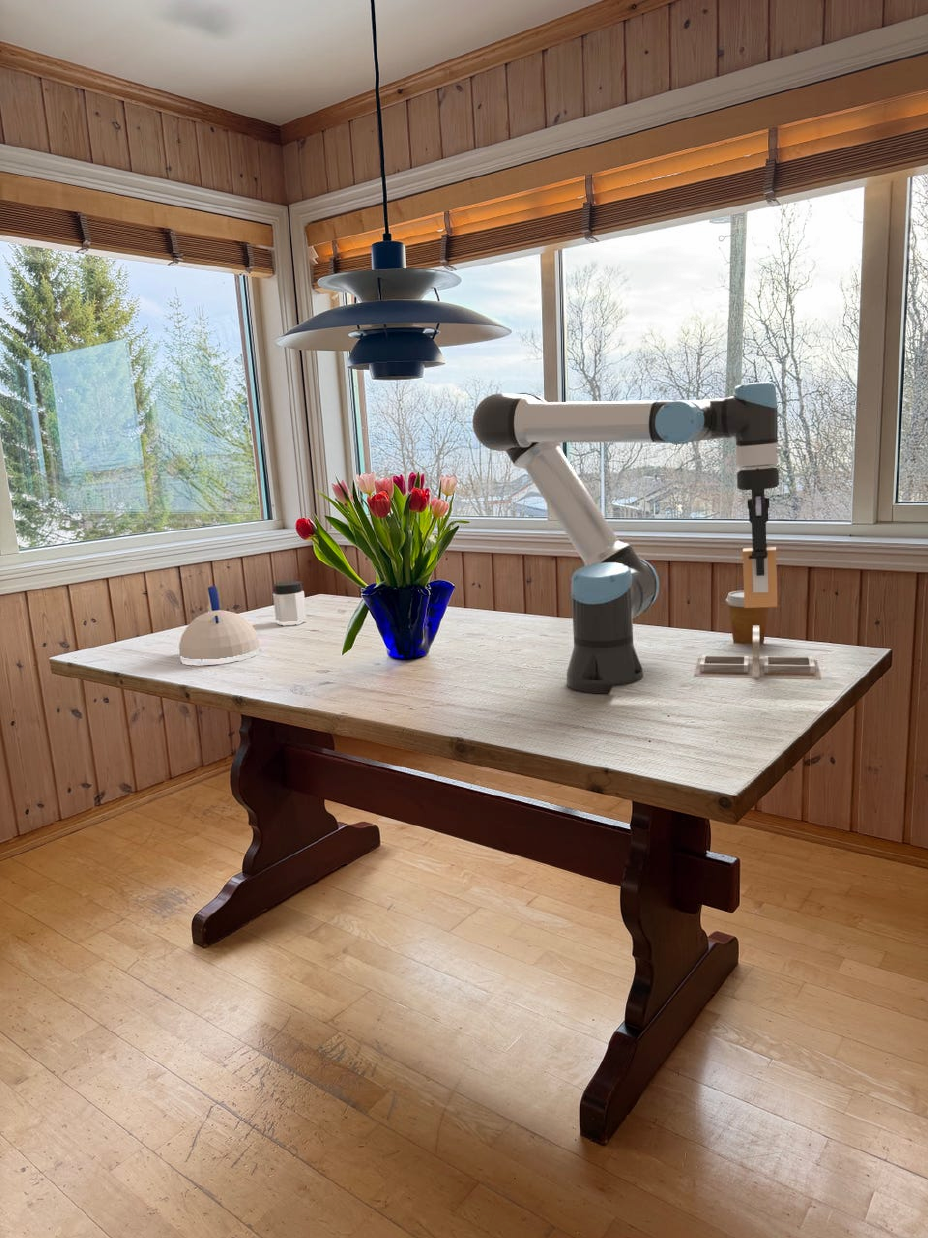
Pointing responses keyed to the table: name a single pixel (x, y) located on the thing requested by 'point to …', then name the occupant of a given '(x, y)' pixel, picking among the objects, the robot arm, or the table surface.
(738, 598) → the disposable coffee cup
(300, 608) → the jar
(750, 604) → the block
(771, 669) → the divided caddy with handle
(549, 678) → the table surface
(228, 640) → the beige dome cover
